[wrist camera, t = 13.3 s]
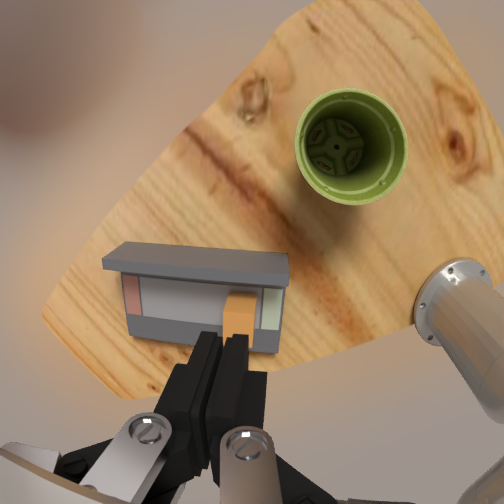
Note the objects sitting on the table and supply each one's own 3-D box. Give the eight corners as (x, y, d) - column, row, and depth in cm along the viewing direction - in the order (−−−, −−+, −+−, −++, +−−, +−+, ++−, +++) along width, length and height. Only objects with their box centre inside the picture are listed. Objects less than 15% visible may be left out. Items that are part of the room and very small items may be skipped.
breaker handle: (257, 293, 34) (254, 314, 30) (255, 325, 35) (252, 348, 31) (229, 291, 34) (223, 311, 30) (228, 322, 36) (222, 345, 31)
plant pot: (273, 162, 32) (272, 168, 24) (316, 86, 29) (329, 66, 21) (349, 206, 33) (372, 226, 25) (391, 133, 30) (426, 130, 22)
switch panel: (287, 253, 35) (289, 274, 29) (278, 343, 39) (277, 374, 33) (125, 241, 36) (101, 258, 30) (134, 327, 40) (116, 352, 34)
